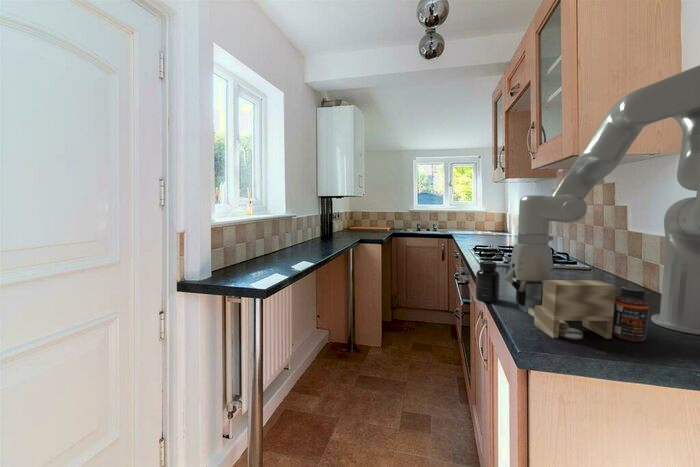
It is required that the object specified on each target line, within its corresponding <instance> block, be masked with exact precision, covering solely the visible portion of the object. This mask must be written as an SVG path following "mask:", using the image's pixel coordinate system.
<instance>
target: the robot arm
mask: <svg viewBox="0 0 700 467" xmlns="http://www.w3.org/2000/svg"><path fill="white" fill-rule="evenodd" d="M669 118H672V119H674V120H675V121H676V122H677V123H678V125H679V126H680V129H681V146H680V147H681V149H680V153H679V160H678V165H677V169H676V170H677V171H676V179H677V183H678V184H679V185H680V186H681V187H682V188H684V189H685V190H688V191H691V192H692V191H693V192H696V194H695V195H696V196H693V197H687V198H683V199H679V200H678V201H675V202H674V203H673V204H671V205H670V206H669V207H668V209H667V210H666V211H665V213H664V218H663V228H664V230H663V231H664V235H665V237H664V238H665V252H664V264H663V276H662V286H661V298H660V310H659V311H660V312H659V313H655V314H653V315H651V317H650V318H651V322H652V323H654V324H656V325H658V326H660V327H663V328H666V329H668V330H673V331H676V332H681V333H687V334H692V335H699V336H700V65H696V66H694V67H690V68H689V69H688V68H687V69H686V70H684V71H681V72H679V73H677V74H676V73H675V74H674V75H671V76H669V77H667V78H664V79H661V80H659V81H655V82H654V83H650V84H647V85H645V86H643V87H641V88H638V89H636V90H634V91H631V92H630V93H627V95H625V96H624V97H622V98H621V99H620V100H619V101H617V102H616V103H615V104H614V105H612V107H611V108H610V109H609V111H608V112H607V113H606V115H605V116H604V118H603V119H602V121H601V123H600V124H599V126H598V128H597V129H596V131H595V132H594V134H593V135H592V136H591V138H590V140H589V141H588V143H587V144H586V146H585V147H584V149H583V151H581V153H580V155H579V156H578V157H577V159H576V160H575V162H574V163H573V165H572V166H571V168H570V169H569V170H568V172H567V173H566V175H565V176H564V178H563V179H562V180H561V182H560V184H558V186H557V188H556V189H555V191H554V192H553V194H552V195H551V196H550V195H549V196H547V195H541V194H539V195H524V196H522V197H521V198H520V200H519V206H518V210H519V211H518V225H517V226H518V227H517V243H515V244H514V245H513V248H512V251H511V257H510V263H509V272H508V273H507V274H506V275H505V277H504V281H506V282H507V283H509V284H510V285H511V286H512V287H513V288H514V289H515V291H516V292H515V301H516V304H518V306H519V305H521V306H524V305H525V292H524V291H523V290H524V286H525V283H526V281H535V282H538V283H540V284H542V290H541V305H542V296H543V280H558V277H557V276H556V274H555V273H554V271H553V270H554V265H553V263H554V262H553V253H552V247H551V245H549V244H550V242H552V241H553V240H554V237H553V236H550V222H556V223H564V224H572V223H577V222H579V221H581V220H582V219H583V218H584V217H585V216H586V214H587V212H588V205H587V202H586V201H585V199H586V197H587V196H588V195H589V193H591V191H592V190H593V188H594V187H595V186H596V185H597V184H598V183H599V182H600V181H602V180H603V179H604V178H606V177H607V176H608V175H610V174H611V173H613V171H614V170H615V169H616V168H617V167H618V166H619V164H620V163H621V162H622V160H623V158H624V157H625V155H626V153H627V152H628V151H629V150H630V148H631V147H632V144H633V143H634V142H635V140H636V139H637V137H638V136H639V134H640V133H641V132H642V131H643V129H644V128H645V127H646V126H648V125H651V124H653V123H658V122H660V121H663V120H666V119H669ZM514 279H516V280H514Z"/></svg>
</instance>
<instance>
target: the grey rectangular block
mask: <svg viewBox="0 0 700 467" xmlns="http://www.w3.org/2000/svg"><path fill="white" fill-rule="evenodd" d="M541 290H542V284H540V283H538V282H536V281H526V283H525V286H524V290H523V291H524V292H525V305H524V306H521V305H519V304H518V309H519V310H521V311H523V312H524V313H527V314H529V315H530V316H532V317H534V316H535V305H541ZM559 327H568V328H569V323H568V322H566V321H564V320H559Z"/></svg>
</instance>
